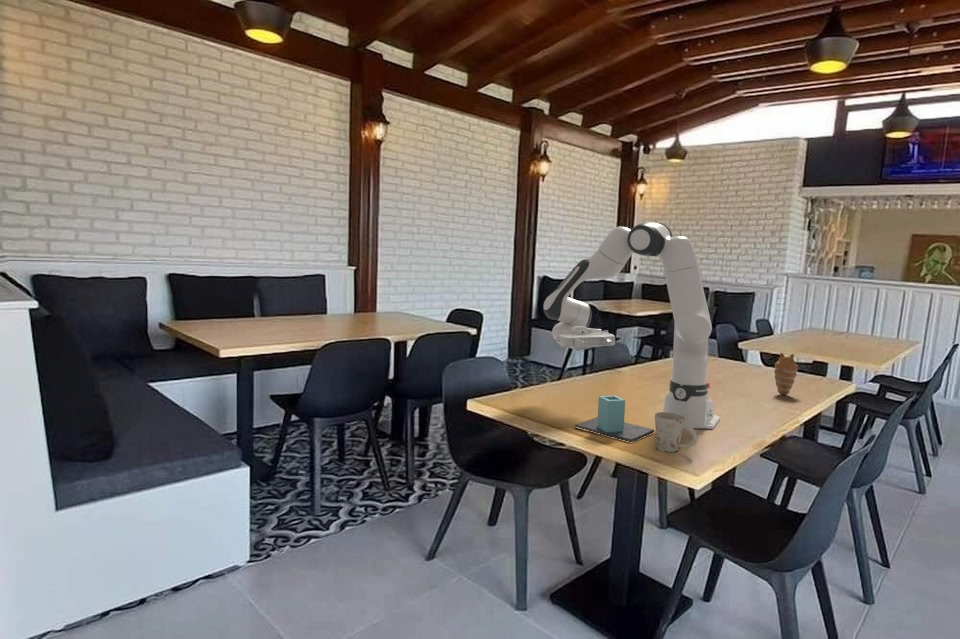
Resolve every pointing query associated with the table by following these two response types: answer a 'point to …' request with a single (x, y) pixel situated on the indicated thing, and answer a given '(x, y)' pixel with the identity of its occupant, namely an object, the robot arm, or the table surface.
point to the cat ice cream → (785, 373)
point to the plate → (628, 434)
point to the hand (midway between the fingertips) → (597, 343)
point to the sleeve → (611, 413)
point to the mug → (671, 431)
